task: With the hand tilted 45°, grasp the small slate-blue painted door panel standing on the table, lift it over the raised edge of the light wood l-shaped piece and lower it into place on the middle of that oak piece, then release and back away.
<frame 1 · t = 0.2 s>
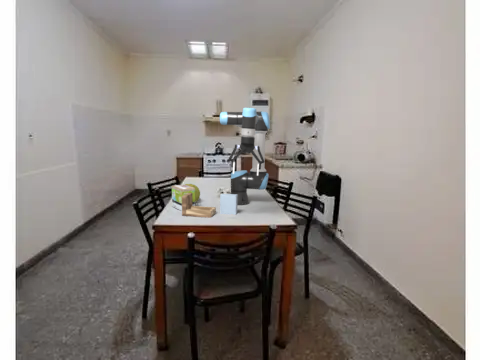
hand: (245, 174, 189), 27 cm above the table, fingers open, 13 cm apart
fruit: (188, 203, 238), on the table, touching tea box
door panel: (228, 213, 210), on the table
light wood l-shaped piece: (199, 214, 207), on the table
tea box: (183, 208, 222), on the table, touching fruit
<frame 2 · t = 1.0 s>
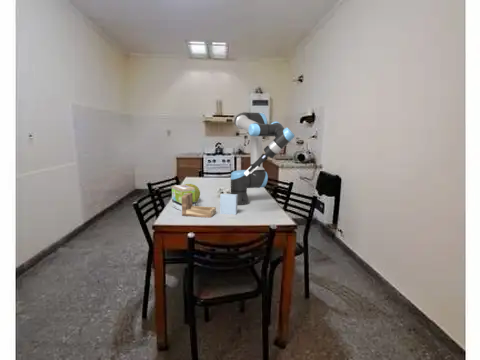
hand: (247, 173, 206), 26 cm above the table, fingers open, 13 cm apart
nothing on the table moved.
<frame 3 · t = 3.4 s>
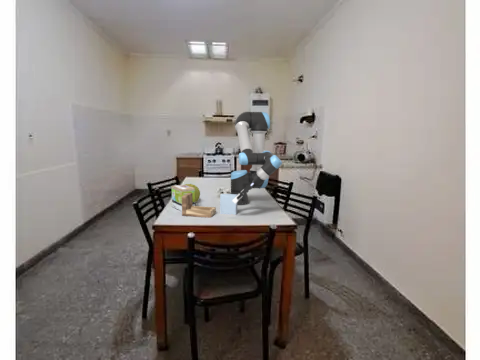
hand: (235, 199, 207), 9 cm above the table, fingers open, 13 cm apart
nothing on the table moved.
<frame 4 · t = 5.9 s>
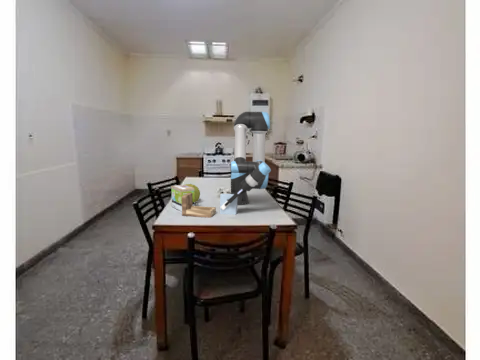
hand: (222, 207, 211), 3 cm above the table, fingers closed on door panel, 4 cm apart
door panel: (228, 213, 210), on the table, touching gripper
everything else where it was.
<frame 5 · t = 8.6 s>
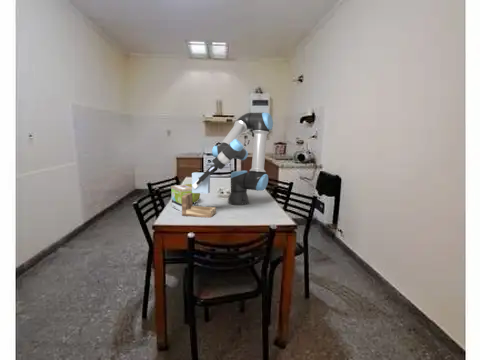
hand: (195, 186, 204), 17 cm above the table, fingers closed on door panel, 4 cm apart
door panel: (201, 192, 204), point 14 cm above the table, touching gripper
everything else where it was.
when the fingers open (6 cm above the table, at t = 11.5 s): door panel drops 1 cm, resting on light wood l-shaped piece.
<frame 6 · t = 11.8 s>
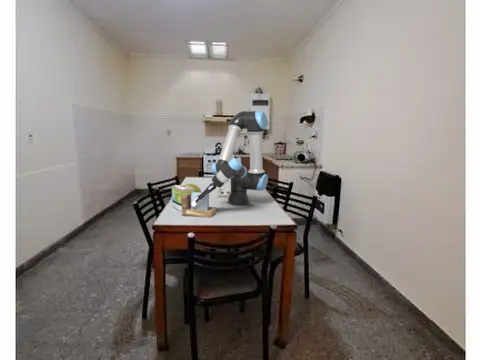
hand: (194, 203, 206), 6 cm above the table, fingers open, 8 cm apart
door panel: (200, 212, 206), point 1 cm above the table, touching light wood l-shaped piece
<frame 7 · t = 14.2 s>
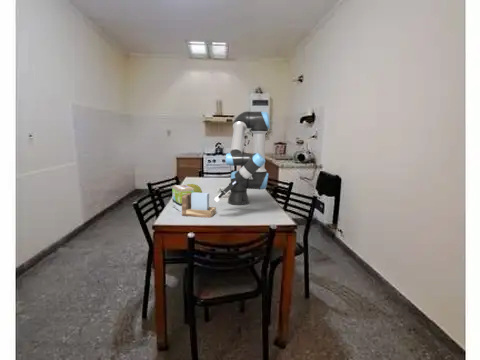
hand: (218, 198, 203), 11 cm above the table, fingers open, 13 cm apart
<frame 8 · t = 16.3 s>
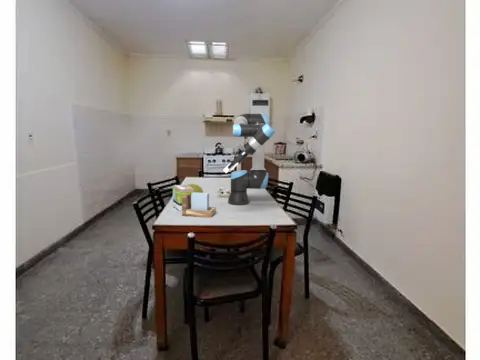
hand: (227, 170, 203), 28 cm above the table, fingers open, 13 cm apart
at the end: door panel inside the target area (0.1 cm from its centre), point 1.2 cm above the table; door panel tilted 0°; the gripper is holding nothing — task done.
